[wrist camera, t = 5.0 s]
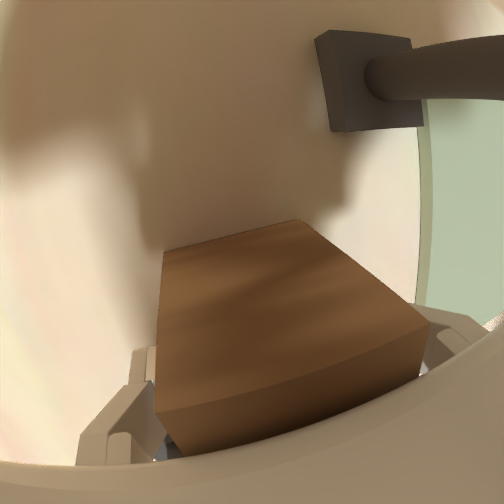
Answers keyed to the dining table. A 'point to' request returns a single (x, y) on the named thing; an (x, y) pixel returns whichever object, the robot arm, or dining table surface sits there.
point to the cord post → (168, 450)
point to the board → (462, 207)
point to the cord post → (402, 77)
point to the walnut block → (274, 337)
